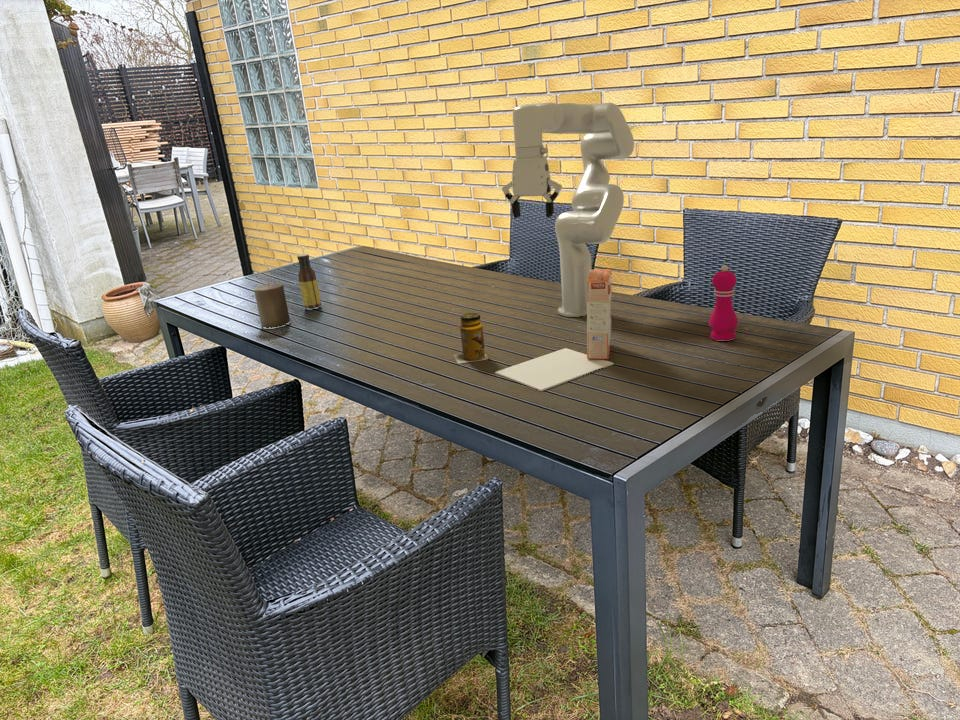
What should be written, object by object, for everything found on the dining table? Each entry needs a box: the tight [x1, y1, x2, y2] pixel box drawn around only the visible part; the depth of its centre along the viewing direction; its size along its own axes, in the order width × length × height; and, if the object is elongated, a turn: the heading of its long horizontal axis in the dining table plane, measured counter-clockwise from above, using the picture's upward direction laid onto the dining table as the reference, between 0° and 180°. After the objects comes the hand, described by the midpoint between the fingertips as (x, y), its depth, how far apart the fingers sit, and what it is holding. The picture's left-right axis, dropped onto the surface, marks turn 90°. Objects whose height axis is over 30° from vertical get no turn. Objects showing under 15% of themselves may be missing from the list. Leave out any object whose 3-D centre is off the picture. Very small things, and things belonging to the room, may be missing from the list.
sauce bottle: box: [296, 253, 322, 309], centre depth 263 cm, size 6×6×20 cm
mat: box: [494, 347, 615, 392], centre depth 185 cm, size 24×18×1 cm
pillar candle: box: [253, 282, 291, 328], centre depth 246 cm, size 10×10×15 cm
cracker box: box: [586, 268, 612, 360], centre depth 191 cm, size 14×6×21 cm, turn 168°
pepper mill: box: [708, 264, 739, 340], centre depth 193 cm, size 7×7×20 cm
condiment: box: [452, 312, 490, 365], centre depth 198 cm, size 7×8×12 cm
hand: (533, 216), depth 204 cm, fingers open, 9 cm apart
